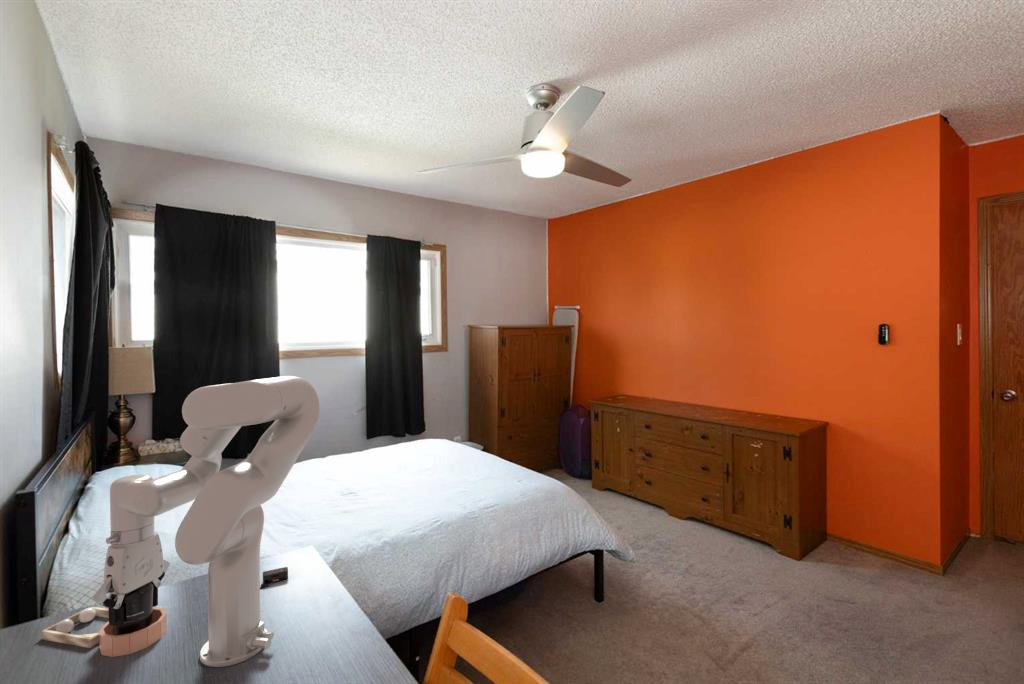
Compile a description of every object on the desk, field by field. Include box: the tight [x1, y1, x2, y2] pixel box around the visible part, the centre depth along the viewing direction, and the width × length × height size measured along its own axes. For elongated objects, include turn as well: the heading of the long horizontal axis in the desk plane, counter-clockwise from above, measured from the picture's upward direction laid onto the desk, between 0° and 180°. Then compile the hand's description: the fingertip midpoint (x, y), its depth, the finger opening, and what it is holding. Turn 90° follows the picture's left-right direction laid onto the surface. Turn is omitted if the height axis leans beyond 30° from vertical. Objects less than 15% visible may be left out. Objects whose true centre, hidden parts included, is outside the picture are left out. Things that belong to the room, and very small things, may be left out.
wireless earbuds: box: [260, 566, 289, 590], centre depth 128 cm, size 4×7×3 cm, turn 118°
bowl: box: [98, 606, 167, 658], centre depth 105 cm, size 11×11×4 cm
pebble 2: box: [78, 607, 96, 624], centre depth 111 cm, size 3×3×3 cm
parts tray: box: [40, 605, 109, 649], centre depth 108 cm, size 14×10×2 cm
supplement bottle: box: [113, 582, 154, 636], centre depth 105 cm, size 7×7×12 cm
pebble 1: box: [55, 618, 75, 634], centre depth 107 cm, size 3×3×3 cm
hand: (134, 614), depth 105 cm, fingers closed on supplement bottle, 6 cm apart
